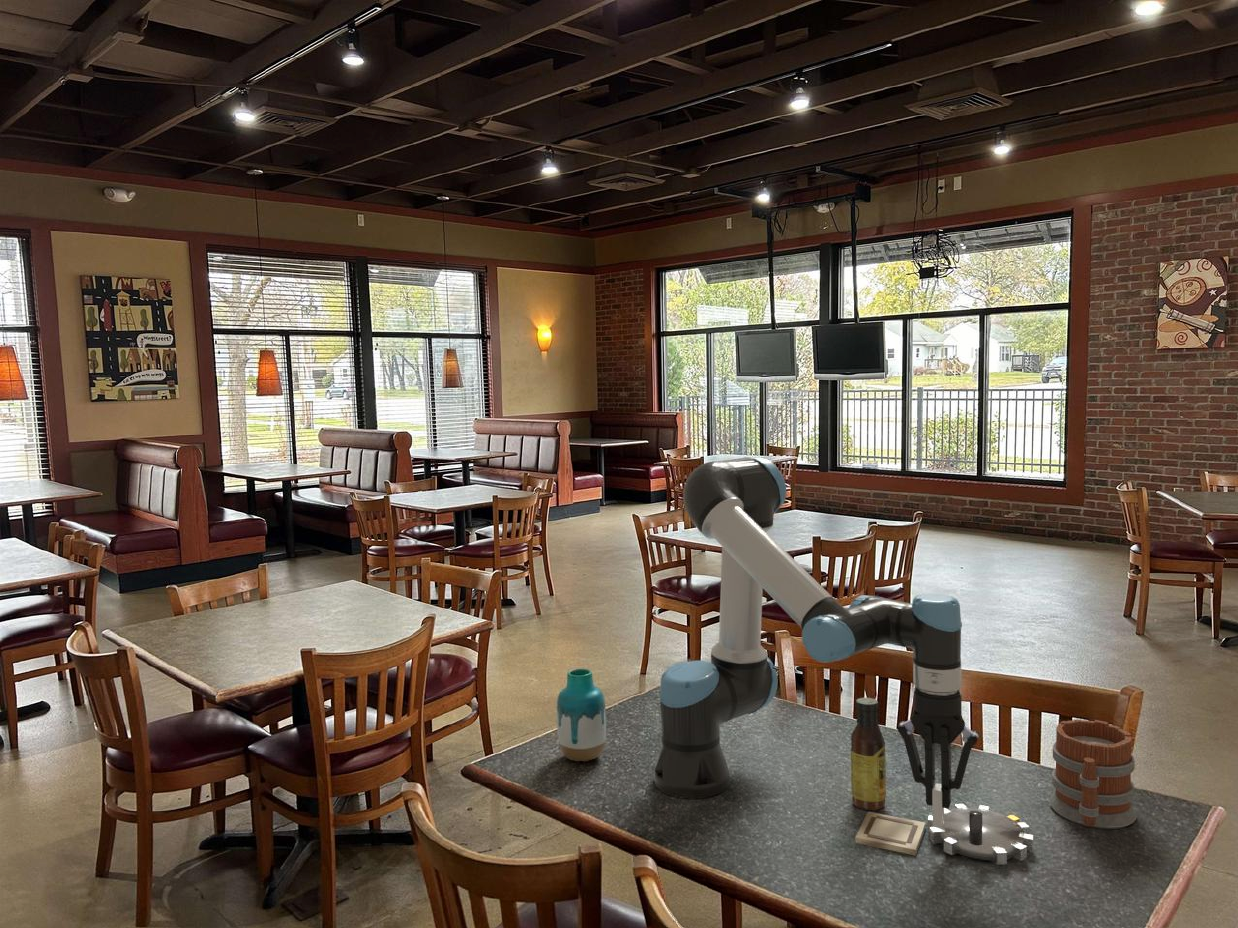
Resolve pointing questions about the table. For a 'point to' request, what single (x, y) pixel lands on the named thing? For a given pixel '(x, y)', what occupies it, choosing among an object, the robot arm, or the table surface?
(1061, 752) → the mug
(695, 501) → the robot arm
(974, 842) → the sprocket
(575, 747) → the vase
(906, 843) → the marked pad
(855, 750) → the sauce bottle
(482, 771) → the table surface
